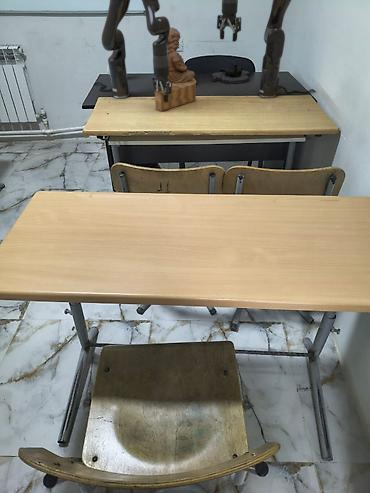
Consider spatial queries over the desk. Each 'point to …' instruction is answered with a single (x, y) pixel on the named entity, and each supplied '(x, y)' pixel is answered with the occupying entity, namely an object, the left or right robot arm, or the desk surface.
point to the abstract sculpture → (231, 74)
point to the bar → (176, 96)
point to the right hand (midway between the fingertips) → (228, 40)
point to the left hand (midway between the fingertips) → (163, 100)
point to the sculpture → (177, 62)
